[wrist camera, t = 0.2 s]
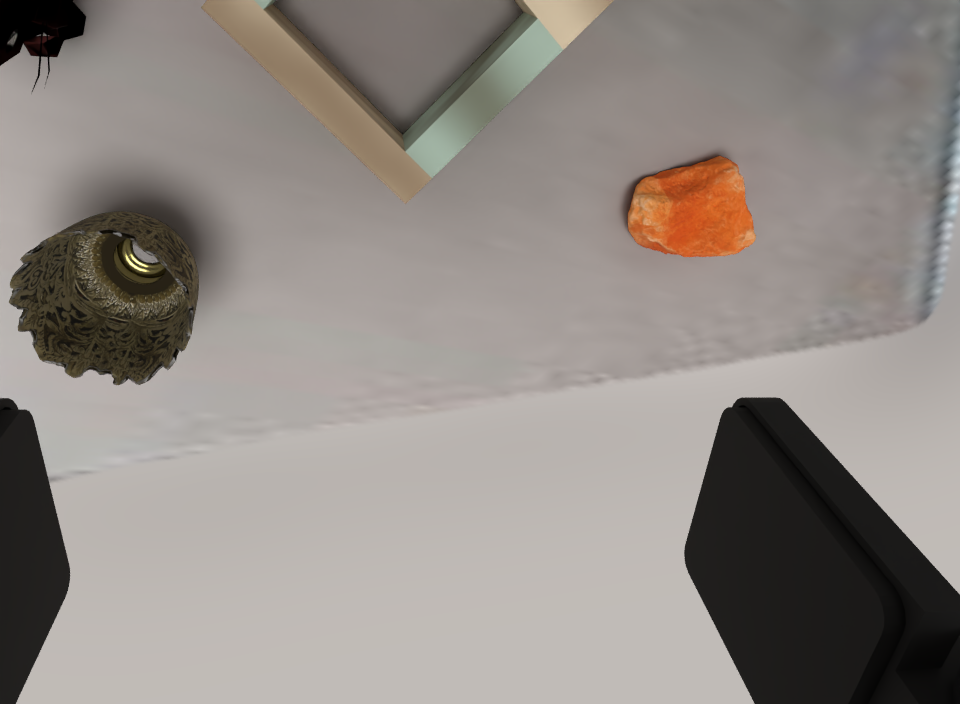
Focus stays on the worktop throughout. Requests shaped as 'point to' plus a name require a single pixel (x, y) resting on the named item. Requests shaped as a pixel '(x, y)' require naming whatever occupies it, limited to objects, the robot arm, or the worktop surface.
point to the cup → (108, 297)
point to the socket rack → (447, 123)
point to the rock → (693, 210)
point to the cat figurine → (38, 27)
